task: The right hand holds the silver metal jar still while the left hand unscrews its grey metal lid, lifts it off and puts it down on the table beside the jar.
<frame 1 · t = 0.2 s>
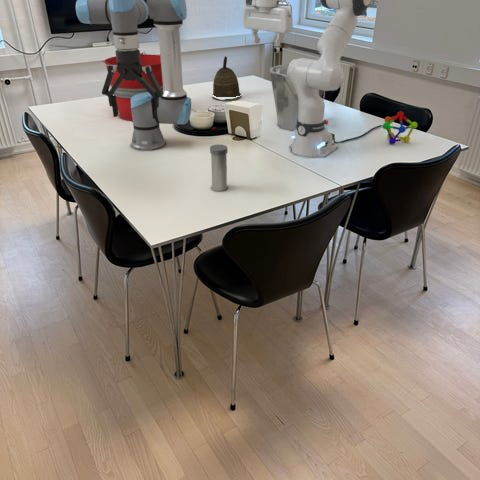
left hand: (135, 116, 150), 28 cm above the table, tool pointing down, fingers open, 13 cm apart
right hand: (266, 44, 157), 48 cm above the table, tool pointing down, fingers open, 8 cm apart
bucket 2: (141, 114, 249), on the table
educational toy: (395, 143, 211), on the table
bell: (226, 97, 281), on the table
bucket: (295, 125, 233), on the table
lid: (218, 148, 159), point 16 cm above the table, screwed on, not yet turned
jar: (219, 187, 168), on the table
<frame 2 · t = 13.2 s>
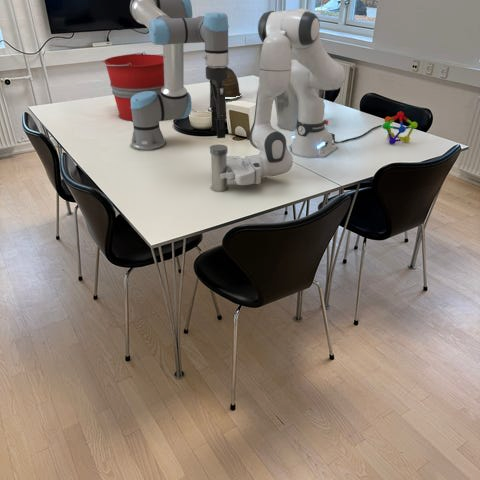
left hand: (218, 133, 156), 21 cm above the table, tool pointing down, fingers open, 8 cm apart
right hand: (216, 172, 164), 7 cm above the table, tool horizontal, fingers closed on jar, 5 cm apart
jar: (219, 187, 168), on the table, touching right hand
everything else where it was.
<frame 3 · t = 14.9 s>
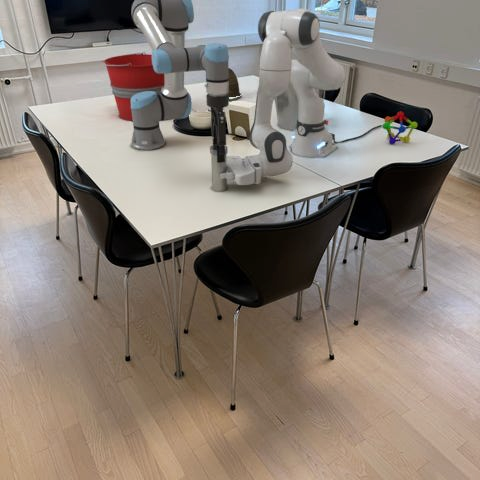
left hand: (218, 158, 161), 12 cm above the table, tool pointing down, fingers closed on lid, 6 cm apart
right hand: (216, 172, 164), 7 cm above the table, tool horizontal, fingers closed on jar, 5 cm apart
lid: (218, 148, 159), point 16 cm above the table, screwed on, not yet turned, touching left hand
jar: (219, 187, 168), on the table, touching right hand
everything else where it was.
when the left hand's fingers open (12 cm above the table, at t = 16.5 s): lid stays where it is, point 16 cm above the table.
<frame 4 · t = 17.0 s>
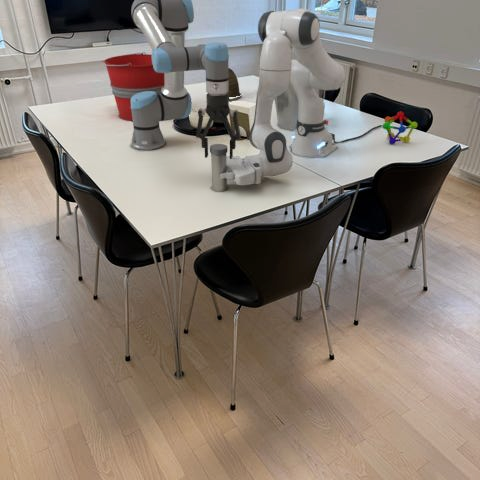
left hand: (218, 156, 161), 12 cm above the table, tool pointing down, fingers open, 8 cm apart
right hand: (216, 172, 164), 7 cm above the table, tool horizontal, fingers closed on jar, 5 cm apart
lid: (218, 147, 159), point 16 cm above the table, turned 110° so far, risen 0.3 cm, still on its thread
jar: (219, 187, 168), on the table, touching right hand
everything else where it was.
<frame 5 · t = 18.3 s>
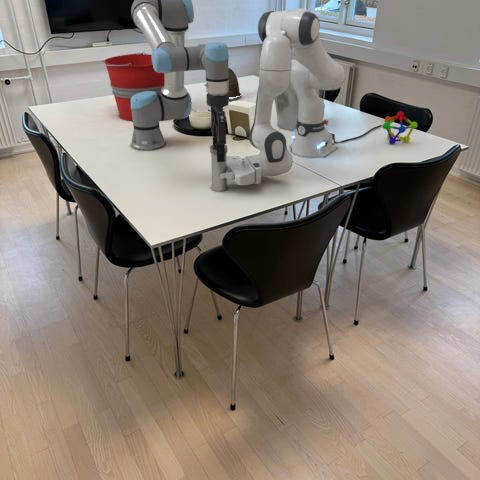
left hand: (218, 157, 161), 12 cm above the table, tool pointing down, fingers closed on lid, 6 cm apart
right hand: (216, 172, 164), 7 cm above the table, tool horizontal, fingers closed on jar, 5 cm apart
lid: (218, 147, 159), point 16 cm above the table, turned 110° so far, risen 0.3 cm, still on its thread, touching left hand
jar: (219, 187, 168), on the table, touching right hand
everything else where it was.
when the left hand's fingers open (0 cm above the table, at t = 25.4 s): lid drops 3 cm, point 1 cm above the table.
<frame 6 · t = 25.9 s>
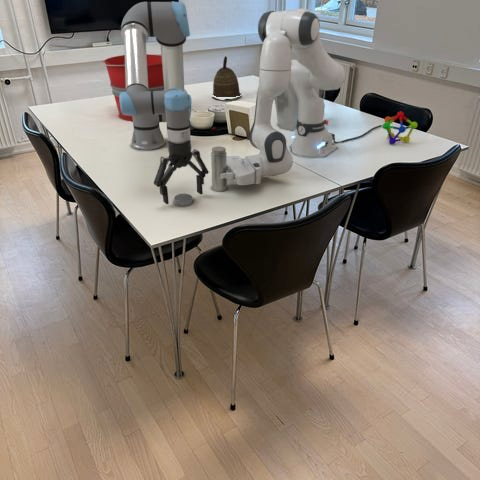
left hand: (183, 197, 157), 1 cm above the table, tool pointing down, fingers open, 13 cm apart
right hand: (216, 172, 164), 7 cm above the table, tool horizontal, fingers closed on jar, 5 cm apart
lid: (183, 198, 157), point 1 cm above the table, off its thread
jar: (219, 187, 168), on the table, touching right hand
everything else where it was.
when the right hand's fingers open (7 cm above the table, at t = 26.6 s): jar stays where it is, on the table.
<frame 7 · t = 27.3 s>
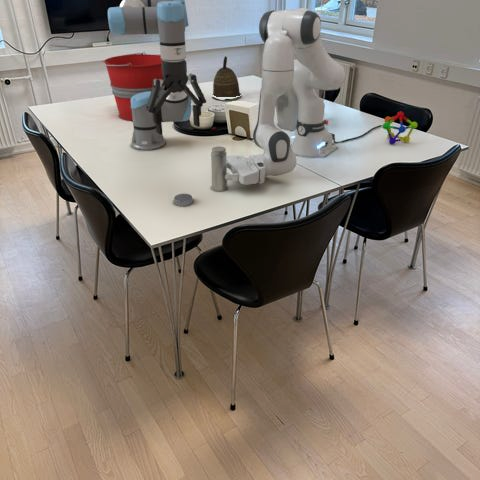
left hand: (178, 129, 144), 26 cm above the table, tool pointing down, fingers open, 13 cm apart
right hand: (221, 171, 165), 6 cm above the table, tool horizontal, fingers open, 8 cm apart
jar: (219, 187, 168), on the table
everything else where it was.
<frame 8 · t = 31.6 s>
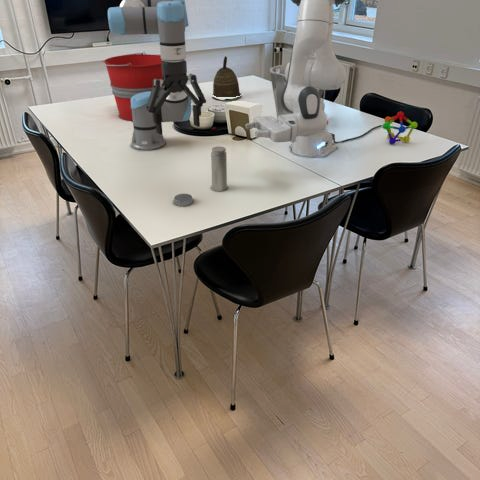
left hand: (178, 129, 144), 26 cm above the table, tool pointing down, fingers open, 13 cm apart
right hand: (251, 130, 160), 21 cm above the table, tool horizontal, fingers open, 8 cm apart
nothing on the table moved.
at the end: lid came off its thread; lid point 1.5 cm above the table; the left hand is holding nothing; the right hand is holding nothing; jar tilted 0°; jar moved 0.0 cm from its start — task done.
